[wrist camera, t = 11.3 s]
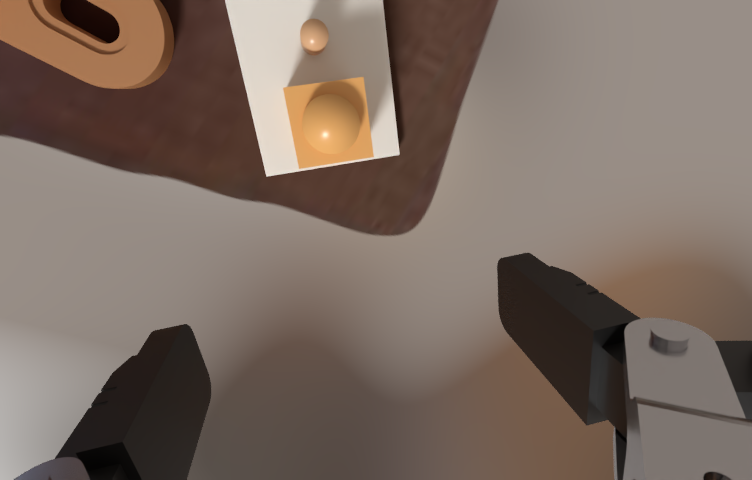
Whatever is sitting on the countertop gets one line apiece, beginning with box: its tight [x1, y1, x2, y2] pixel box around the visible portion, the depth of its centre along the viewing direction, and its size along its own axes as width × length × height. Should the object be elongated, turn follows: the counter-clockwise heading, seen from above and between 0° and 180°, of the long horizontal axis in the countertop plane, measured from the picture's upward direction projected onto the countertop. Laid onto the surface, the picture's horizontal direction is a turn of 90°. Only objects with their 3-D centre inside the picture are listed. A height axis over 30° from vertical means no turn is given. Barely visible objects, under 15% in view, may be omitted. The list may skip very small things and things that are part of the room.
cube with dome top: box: [283, 77, 374, 169], centre depth 31 cm, size 6×6×7 cm
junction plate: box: [225, 0, 400, 176], centre depth 32 cm, size 12×14×6 cm
